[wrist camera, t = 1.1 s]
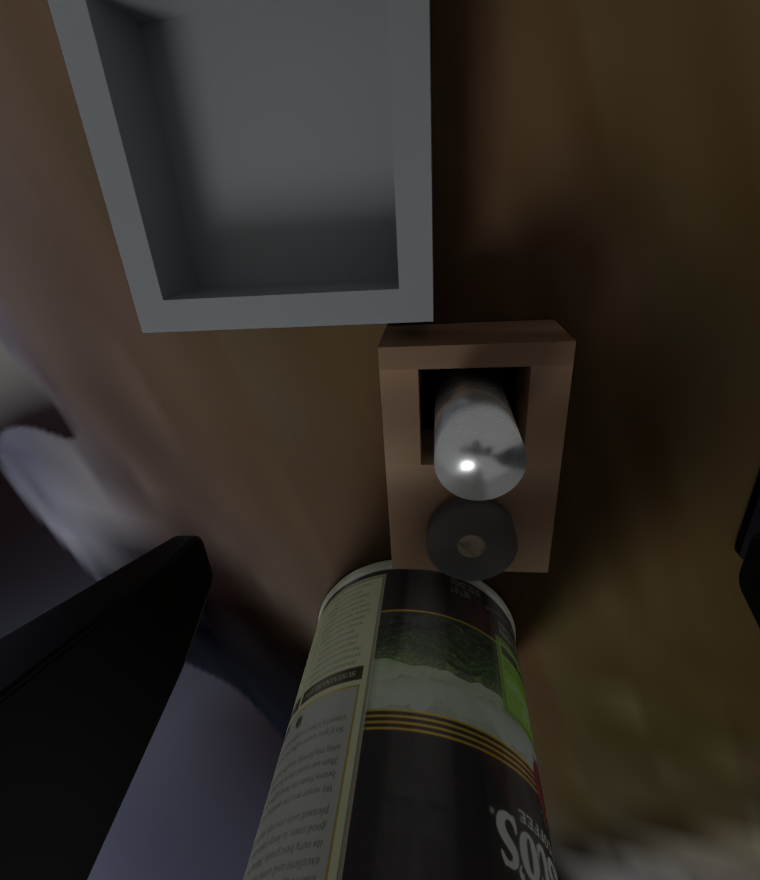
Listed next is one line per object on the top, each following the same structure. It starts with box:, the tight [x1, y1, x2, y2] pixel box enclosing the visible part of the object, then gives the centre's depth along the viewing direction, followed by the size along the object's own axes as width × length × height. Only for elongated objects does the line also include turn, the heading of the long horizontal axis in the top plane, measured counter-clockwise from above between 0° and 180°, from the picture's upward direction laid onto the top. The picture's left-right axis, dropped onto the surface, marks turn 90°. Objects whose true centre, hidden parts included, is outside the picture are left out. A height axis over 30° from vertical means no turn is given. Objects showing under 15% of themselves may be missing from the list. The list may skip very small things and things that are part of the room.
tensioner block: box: [378, 319, 576, 581], centre depth 17 cm, size 9×6×4 cm, turn 3°
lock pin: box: [434, 367, 527, 501], centre depth 16 cm, size 2×2×6 cm
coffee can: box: [243, 560, 558, 880], centre depth 18 cm, size 10×10×14 cm
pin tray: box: [48, 0, 434, 333], centre depth 14 cm, size 10×10×3 cm
